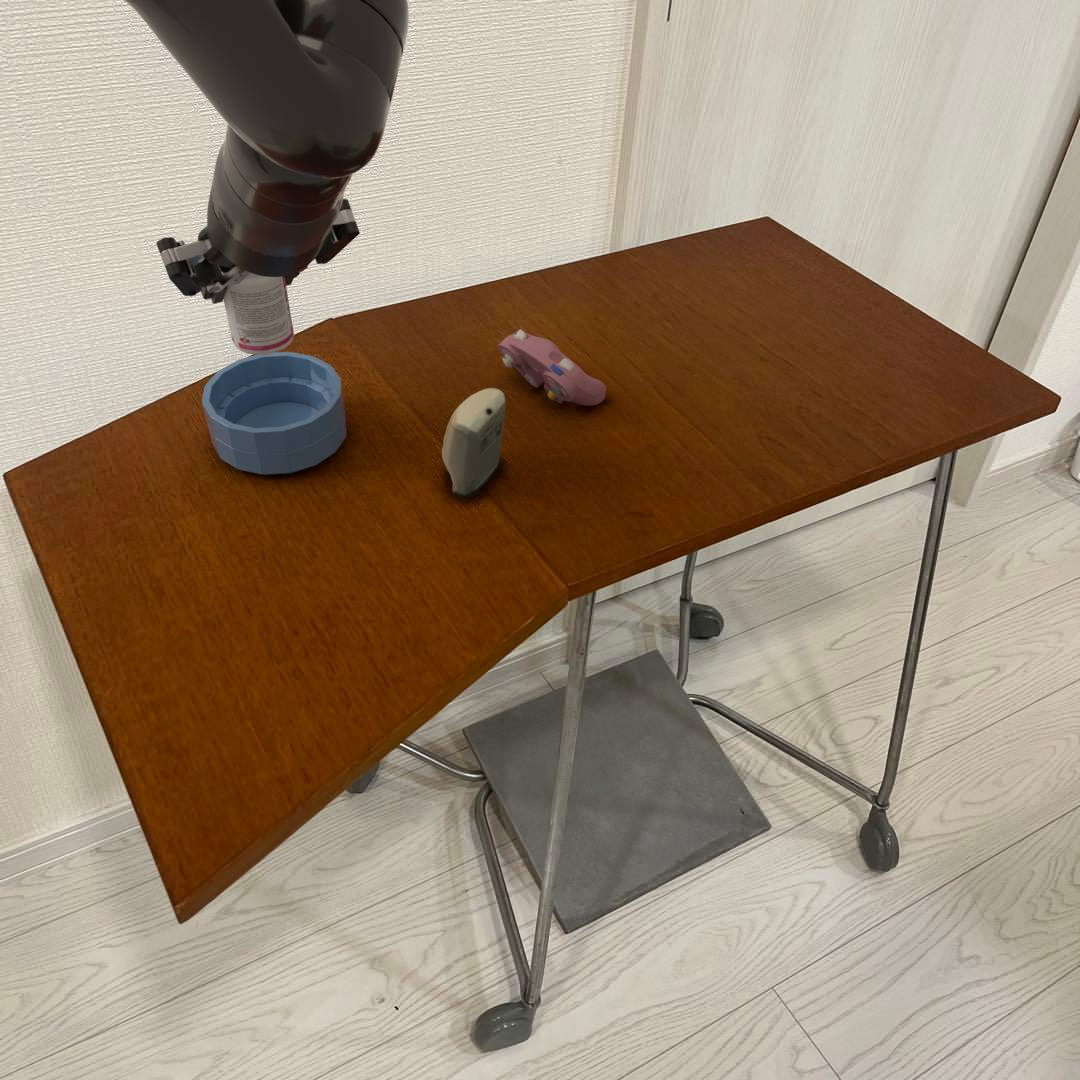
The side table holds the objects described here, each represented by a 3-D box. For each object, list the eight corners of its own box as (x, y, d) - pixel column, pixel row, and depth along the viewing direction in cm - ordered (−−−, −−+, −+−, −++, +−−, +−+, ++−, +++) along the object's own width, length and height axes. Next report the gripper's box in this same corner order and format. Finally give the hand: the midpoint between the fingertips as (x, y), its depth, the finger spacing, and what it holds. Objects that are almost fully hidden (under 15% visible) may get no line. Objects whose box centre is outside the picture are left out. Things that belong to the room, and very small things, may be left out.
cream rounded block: (508, 503, 82) (509, 424, 77) (444, 505, 82) (440, 427, 76) (503, 458, 86) (504, 380, 81) (442, 460, 86) (438, 382, 80)
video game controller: (508, 383, 97) (482, 339, 91) (540, 350, 97) (516, 304, 91) (580, 432, 91) (558, 389, 86) (613, 396, 92) (594, 351, 86)
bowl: (238, 495, 82) (227, 447, 78) (198, 421, 89) (185, 373, 85) (367, 454, 86) (362, 406, 83) (318, 386, 93) (312, 339, 89)
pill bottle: (307, 340, 80) (292, 241, 74) (256, 364, 77) (237, 263, 71) (270, 317, 82) (253, 219, 76) (220, 339, 79) (198, 240, 74)
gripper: (363, 116, 65) (317, 216, 80) (136, 159, 59) (135, 256, 75) (403, 228, 65) (350, 306, 81) (181, 281, 60) (171, 353, 76)
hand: (247, 282), depth 78 cm, fingers closed on pill bottle, 4 cm apart
